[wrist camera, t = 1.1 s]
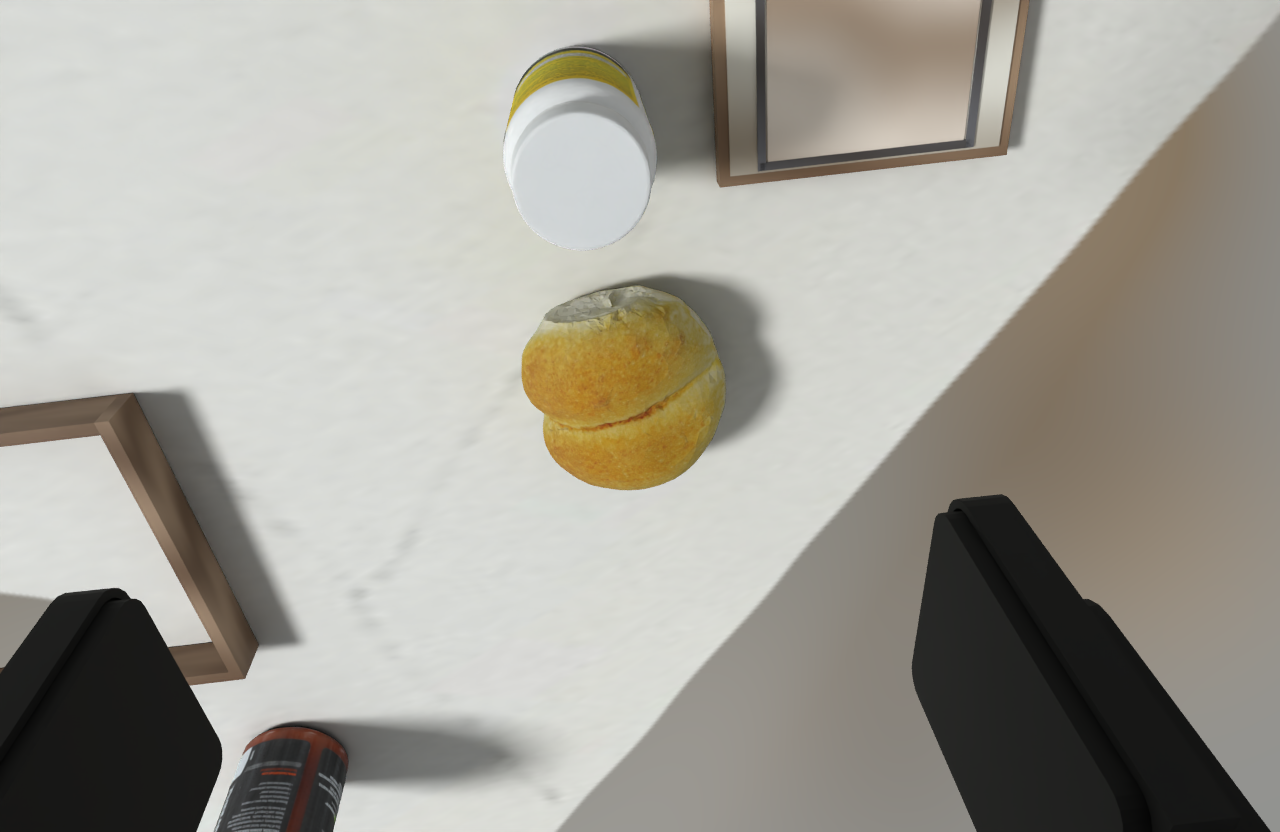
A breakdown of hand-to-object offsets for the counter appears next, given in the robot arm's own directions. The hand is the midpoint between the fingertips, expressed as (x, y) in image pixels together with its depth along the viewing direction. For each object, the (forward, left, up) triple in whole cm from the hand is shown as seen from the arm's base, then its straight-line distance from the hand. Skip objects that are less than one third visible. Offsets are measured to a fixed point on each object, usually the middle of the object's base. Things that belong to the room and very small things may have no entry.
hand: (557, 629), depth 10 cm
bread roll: (+13, +4, -25) cm, 28 cm away
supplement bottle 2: (-1, +1, -25) cm, 25 cm away
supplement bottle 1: (+33, -20, -25) cm, 46 cm away
